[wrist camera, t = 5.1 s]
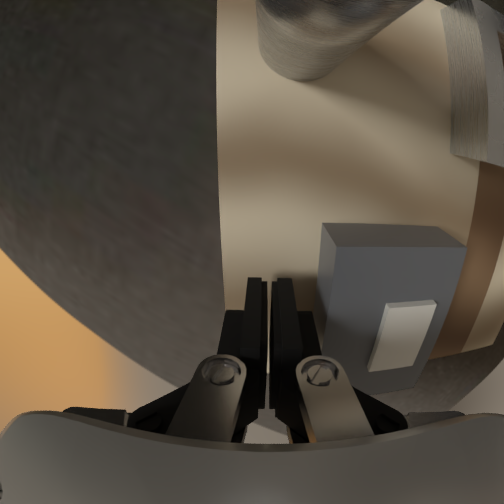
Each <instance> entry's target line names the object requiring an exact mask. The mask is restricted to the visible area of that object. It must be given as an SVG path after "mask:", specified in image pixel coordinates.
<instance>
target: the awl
mask: <svg viewBox="0 0 504 504" xmlns="http://www.w3.org/2000/svg"><path fill="white" fill-rule="evenodd" d="M422 1H424V0H255V3H256V16H257V30H258V44H259V51H260V54H261V56H262V58H263V60H264V62H265V63H266V64H267V65H268V66H269V67H270V68H271V69H272V70H273V71H274V72H275V73H277V74H279V75H280V76H283V77H285V78H288V79H290V80H295V81H313V80H318V79H320V78H323V77H325V76H327V75H328V74H329V73H331V72H332V71H333V70H334V69H335V68H336V67H338V66H339V65H340V64H341V63H342V62H343V61H345V60H346V59H347V58H348V57H349V56H351V55H352V54H353V53H354V52H355V51H357V50H358V49H359V48H360V47H362V46H363V45H364V44H365V43H367V42H368V41H369V40H370V39H372V38H373V37H374V36H375V35H377V34H378V33H379V32H381V31H382V30H383V29H385V28H386V27H387V26H388V25H390V24H391V23H392V22H394V21H395V20H397V19H398V18H399V17H401V16H402V15H403V14H405V13H406V12H408V11H409V10H410V9H412V8H413V7H415V6H416V5H418V4H419V3H421V2H422Z"/></svg>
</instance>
